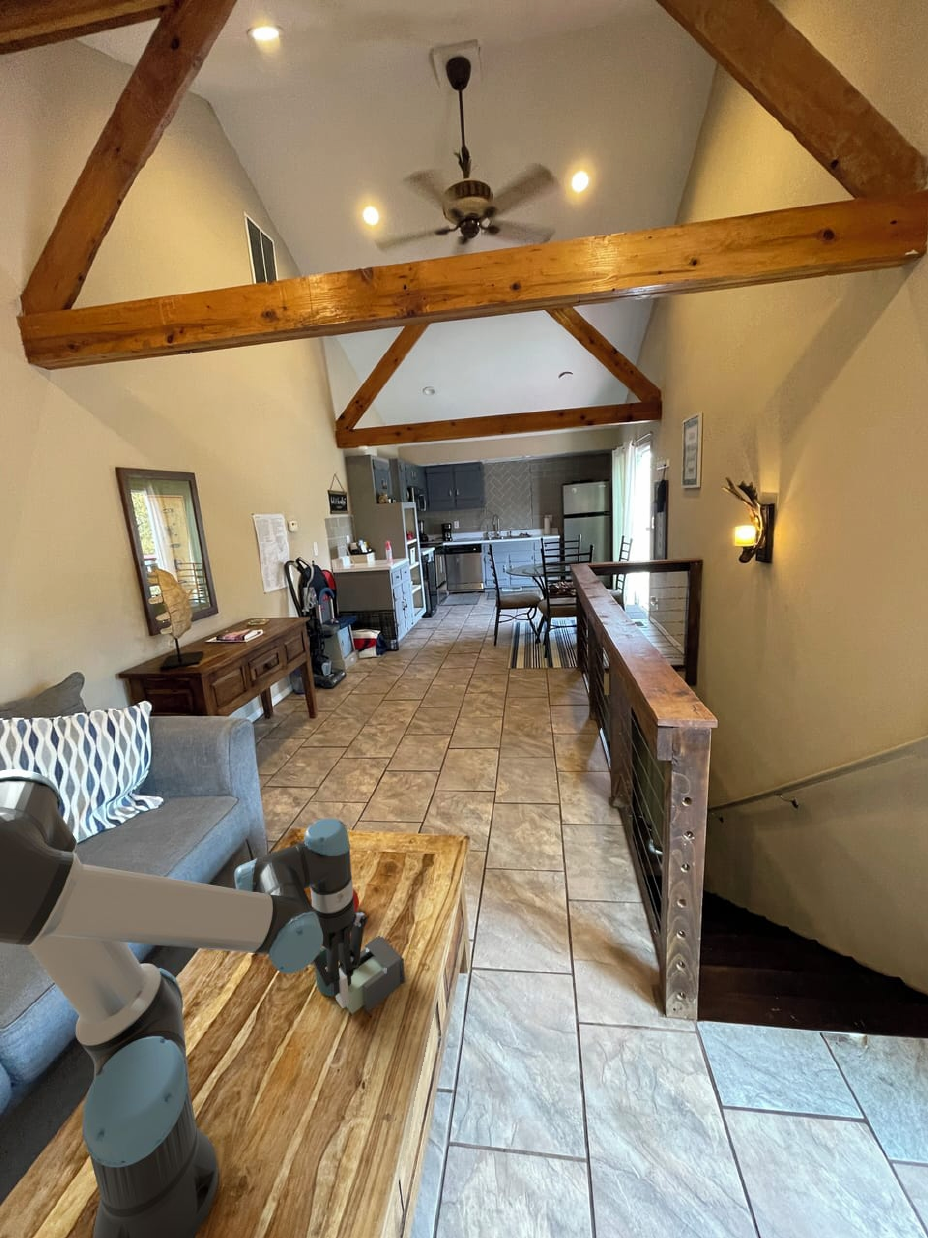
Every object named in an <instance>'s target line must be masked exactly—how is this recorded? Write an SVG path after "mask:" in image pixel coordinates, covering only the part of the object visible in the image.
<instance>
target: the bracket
mask: <svg viewBox="0 0 928 1238" xmlns="http://www.w3.org/2000/svg"><path fill="white" fill-rule="evenodd" d="M318 955H319V956H320V958H321V960H322V962H323V964H324V966H325V969H326V968H327V959H326V948H325V947H324V946H322V947H321V949H320V952H319V954H318ZM360 961H361V955H360V960H359V963H360ZM338 963H340V962H339V952H338ZM358 965H359V964H358ZM358 965H357V966H353V967H352V968H356V967H358ZM314 970H315V979H316V986H317V989H318V991H319V992H320V993H321V994H322V995H325V996H327V997H336V996H335V995H334V993H333V992H332V991H331V987H330V985H329V986H328V987H326V986H325V985H324V983H323V982H322V981H321V979H320V978H319V976H318V974H317V972H316V969H315V968H314ZM352 971H353V970H352Z"/></svg>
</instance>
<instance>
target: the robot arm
mask: <svg viewBox="0 0 928 1238" xmlns="http://www.w3.org/2000/svg"><path fill="white" fill-rule="evenodd" d="M60 807H61V797H60V794H59V790H58V788H57V786H56V785H55V783H54V782H53V781H52V780H51V779H50V778H49V777H47V776H45V775H43V774H42V773H39V772H35V771H32V770H25V769H4V770H0V944H8V945H20V946H22V945H23V946H26V947H27V948H28V950H30V952H31V953H32V955H33V956H34V957H35V958H36V961H38V962H39V964H40V965H41V967H42V968H43V969H44V970H45V971H46V974H47V975H48V976H49V977H50V979H51V980H52V981H53V982H54V984H55V985H56V986H57V988H58V989H59V990H60V992H61V993H62V995H63V996H64V997H65V998H66V1001H68V1003H69V1004H70V1005H71V1007H72V1008H73V1009H74V1010H75V1012H76V1014H77V1015H78V1016H79V1017H78V1018H77V1021H76V1024H75V1037H76V1039H77V1041H78V1042H79V1043H80V1044H81V1045H82V1047H83V1048H84V1050H85V1051H86V1052H87V1054H88V1055H89V1056H90V1057H91V1060H92V1061H93V1065H94V1073H93V1080H92V1082H91V1085H90V1086H89V1089H88V1091H87V1094H86V1096H85V1099H84V1103H83V1104H84V1105H83V1109H82V1125H81V1126H82V1128H81V1129H82V1136H83V1137H82V1139H83V1140H84V1143H85V1147H86V1150H88V1151H87V1152H88V1153H89V1158H90V1161H91V1162H90V1163H91V1165H92V1169H93V1172H94V1173H93V1174H94V1177H95V1181H96V1185H97V1189H98V1192H99V1195H100V1198H99V1202H98V1208H97V1212H96V1216H95V1217H96V1218H95V1221H94V1222H95V1223H94V1227H93V1238H195V1237H196V1236H197V1234H198V1232H199V1231H200V1229H201V1228H202V1226H203V1225H204V1222H205V1221H206V1219H207V1217H208V1215H209V1212H210V1210H211V1208H212V1205H213V1203H214V1200H215V1197H216V1193H217V1188H218V1183H219V1165H218V1159H217V1158H218V1157H217V1155H216V1150H215V1148H214V1145H213V1143H212V1141H211V1140H210V1139H209V1137H207V1135H206V1134H204V1132H203V1131H201V1130H200V1128H198V1127H197V1123H196V1118H195V1113H194V1107H193V1101H192V1097H191V1096H192V1095H191V1088H190V1080H189V1068H188V1059H187V1048H186V1038H185V1036H186V1035H185V1026H184V1025H185V1024H184V1015H183V1005H184V1004H183V994H182V990H181V988H180V985H179V982H178V980H177V979H176V977H175V976H174V975H173V974H172V973H171V972H169V971H168V970H166V969H164V968H161V967H160V968H159V967H157V966H156V965H154V964H152V963H140V962H139V960H138V959H137V957H136V956H135V954H134V952H133V951H132V950H131V948H130V946H129V944H128V943H132V944H141V945H153V946H154V945H155V946H165V947H177V948H179V947H180V948H190V949H202V950H212V951H213V950H214V951H225V952H226V951H227V952H237V953H246V954H247V953H248V954H249V953H250V954H258V955H268V958H269V961H270V963H271V964H272V966H273V967H274V969H276V970H277V971H278V972H280V973H281V974H288V975H290V974H294V973H296V972H297V973H299V972H300V971H302V970H304V969H306V968H307V967H308V966H310V965H311V964H312V965H313V967H314V970H315V969H316V970H315V973H316V972H317V974H318V976H319V978H320V979H321V981H322V982H323V983H324V985H325V986H326V987H328V986H329V985H330V987H331V991H332V992H333V993H334V995H335V996H334V997H335V1000H336V1002H337V1003H338V1004H339V1006H340V1007H341V1009H345V1008H347V1007H346V1006H347V1005H349V1004H350V1003H349V992H348V986H349V985H351V976H352V975H353V973H354V972H353V971H352V967H353V966H357V965H358V964H359V960H360V953H361V951H362V944H363V938H364V932H365V928H366V924H367V922H368V917H367V915H366V914H365V913H364V912H363V911H362V910H359V909H358V910H357V912H356V913H355V908H354V897H353V890H354V889H353V887H354V886H353V876H352V867H351V851H350V849H351V844H350V840H349V833H348V828H347V826H346V824H345V823H344V822H343V821H341V820H340V819H338V818H334V817H333V818H331V817H329V818H328V817H327V818H322V819H319V820H317V821H315V822H313V824H311V825H309V826H308V827H307V828H306V830H305V832H304V833H305V834H304V839H303V841H300V842H298V843H296V844H293V845H289V846H287V847H284V848H282V849H278V850H276V851H274V852H273V851H272V852H271V853H268V854H264V855H262V856H258V857H256V858H255V859H253V860H250V861H248V862H245V863H243V864H240V865H238V866H237V867H236V869H235V870H234V873H233V874H234V875H233V876H234V885H235V888H232V887H231V888H230V887H226V886H221V885H219V886H218V885H214V884H213V885H212V884H208V883H207V884H206V883H200V882H195V881H188V880H182V879H177V878H171V877H165V876H158V875H153V874H146V873H140V872H135V871H134V872H133V871H128V870H127V871H126V870H122V869H121V870H120V869H115V868H109V867H102V866H96V865H91V864H86V863H85V864H84V863H82V862H81V860H80V859H79V856H78V854H77V853H75V852H76V849H77V847H78V841H77V839H76V837H75V836H74V834H73V832H72V830H70V828H69V826H68V824H67V823H66V821H65V819H64V818H63V816H62V815H61V813H60V811H59V810H60ZM309 887H310V895H311V896H310V897H311V898H310V899H311V901H310V899H309V897H308V895H307V893H306V889H307V888H309ZM323 947H325V948H326V959H327V967H326V968H327V969H326V968H325V966H324V964H323V962H322V960H321V958H320V956H319V955H318V954H319V952H320V950H321V949H322V948H323ZM338 952H339V962H338Z"/></svg>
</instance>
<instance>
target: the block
mask: <svg viewBox="0 0 928 1238" xmlns="http://www.w3.org/2000/svg"><path fill="white" fill-rule="evenodd" d="M382 969H383V967H382V966H381V965H380V964H379V963H378V961H377V960H376V959H375V958H374V957H371V958H370V959H369V960H367V961H366V962H365V963H363V964H362V965H360V966H359V967H358V968H356V969H355V970H354V971H353V972H354V973H353V975H352V976H351V985H349V986H348V992H349V1003H350V1004H349V1005H347V1006H346V1007H345V1008H347V1010H348V1012H350V1013H351V1015H353V1014H354V1013H355V1012H357V1010H359V1009H360V1008H362V1007H363V1006H364V996H363V984H364V983H365V982H366V981H368V980H369V979H370V978H372V977H373V976H374V975H376V974H377V973H378V972H379V971H381V970H382Z"/></svg>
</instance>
